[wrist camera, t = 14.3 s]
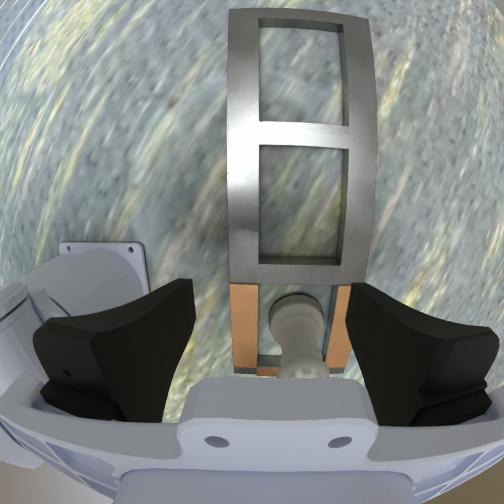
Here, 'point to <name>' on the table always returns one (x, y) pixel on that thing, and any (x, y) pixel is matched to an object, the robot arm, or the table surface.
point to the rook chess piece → (299, 337)
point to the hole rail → (302, 135)
